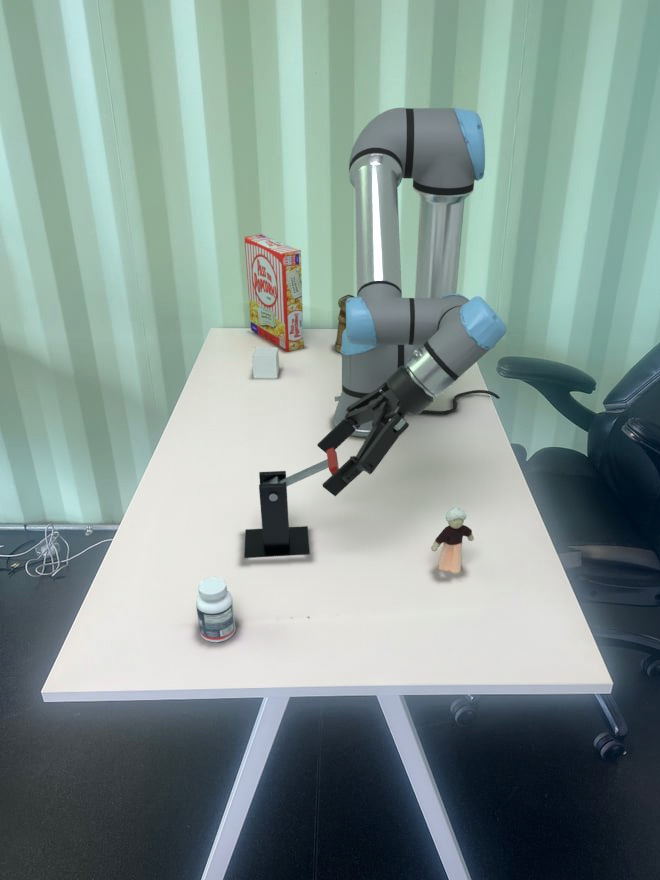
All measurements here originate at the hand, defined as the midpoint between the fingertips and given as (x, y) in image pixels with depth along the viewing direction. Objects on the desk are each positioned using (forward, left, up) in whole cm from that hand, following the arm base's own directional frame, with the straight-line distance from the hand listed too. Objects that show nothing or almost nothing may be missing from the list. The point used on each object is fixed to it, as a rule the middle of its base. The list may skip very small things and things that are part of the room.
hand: (325, 469), depth 125 cm
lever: (+4, 0, -2) cm, 4 cm away
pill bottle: (+18, +21, -15) cm, 31 cm away
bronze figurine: (-12, -92, -15) cm, 94 cm away
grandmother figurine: (-20, +10, -15) cm, 27 cm away
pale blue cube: (+11, -78, -15) cm, 80 cm away
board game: (+8, -103, -15) cm, 105 cm away
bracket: (+9, 0, -15) cm, 18 cm away
